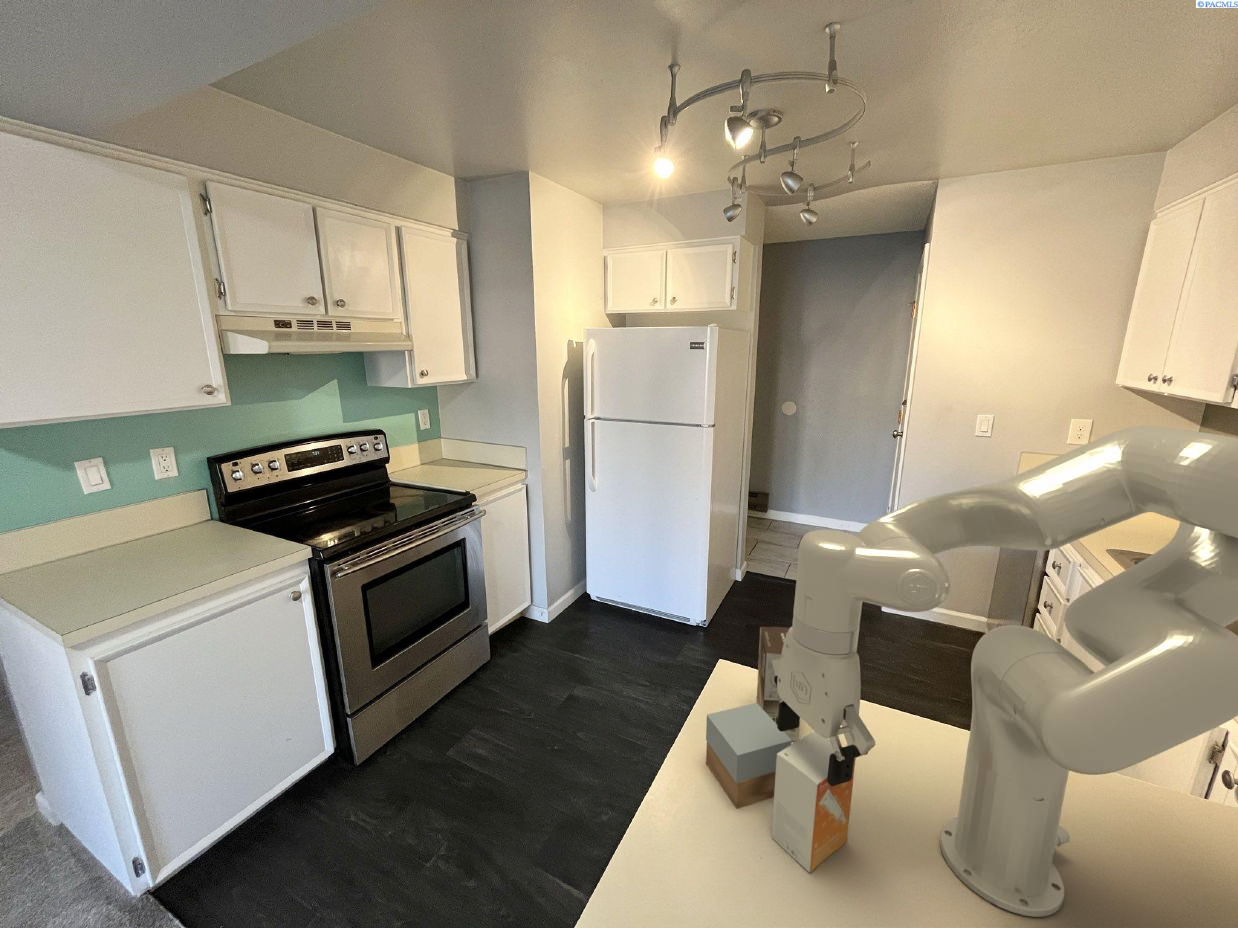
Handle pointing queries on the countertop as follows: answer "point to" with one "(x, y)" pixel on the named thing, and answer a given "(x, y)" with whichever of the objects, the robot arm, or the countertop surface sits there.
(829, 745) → the small box
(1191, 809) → the countertop surface
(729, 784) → the tower base block
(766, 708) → the coffee box
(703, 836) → the countertop surface
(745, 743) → the tower top block
